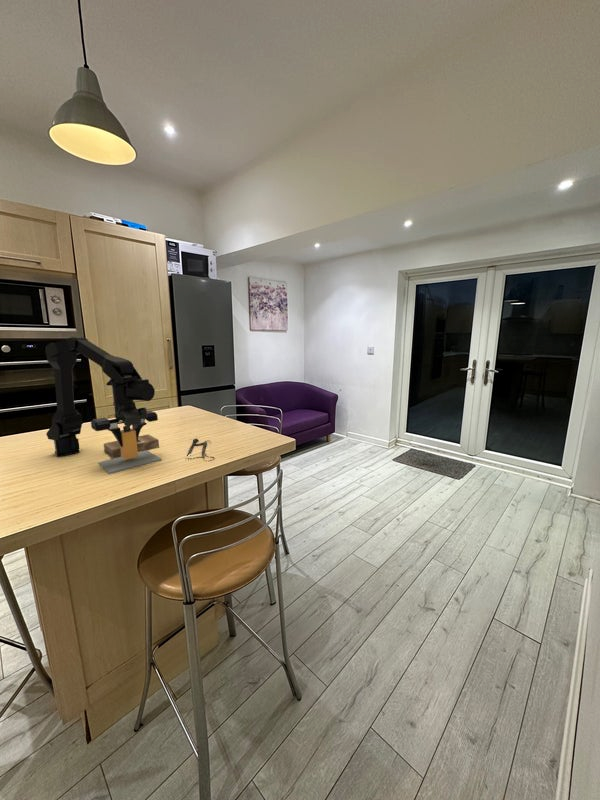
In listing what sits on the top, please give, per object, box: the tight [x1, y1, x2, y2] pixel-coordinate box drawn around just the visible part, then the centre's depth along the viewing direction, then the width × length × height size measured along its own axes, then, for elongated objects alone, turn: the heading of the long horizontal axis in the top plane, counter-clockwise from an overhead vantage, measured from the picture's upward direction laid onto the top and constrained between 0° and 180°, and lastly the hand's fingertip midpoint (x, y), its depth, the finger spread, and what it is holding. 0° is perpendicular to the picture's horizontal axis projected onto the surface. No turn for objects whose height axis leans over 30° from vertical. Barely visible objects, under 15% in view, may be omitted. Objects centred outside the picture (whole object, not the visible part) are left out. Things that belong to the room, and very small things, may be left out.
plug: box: [120, 425, 139, 460], centre depth 107 cm, size 4×4×10 cm
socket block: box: [103, 434, 160, 459], centre depth 121 cm, size 16×10×3 cm, turn 136°
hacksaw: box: [186, 438, 216, 462], centre depth 120 cm, size 24×10×2 cm, turn 10°
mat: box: [97, 450, 162, 475], centre depth 109 cm, size 16×12×1 cm
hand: (128, 444), depth 108 cm, fingers closed on plug, 4 cm apart
